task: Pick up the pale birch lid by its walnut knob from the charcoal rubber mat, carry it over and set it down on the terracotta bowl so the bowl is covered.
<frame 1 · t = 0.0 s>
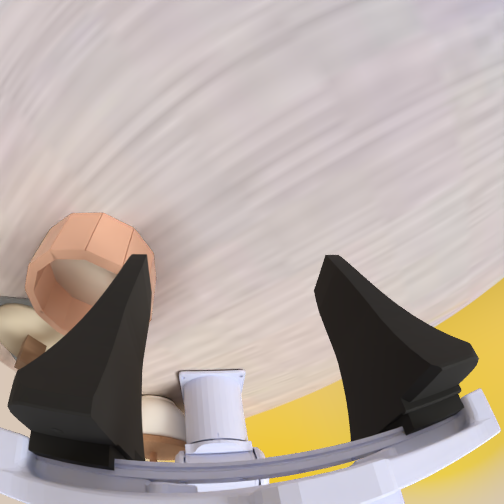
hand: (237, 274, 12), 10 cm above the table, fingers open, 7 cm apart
lidded jar: (154, 402, 39), on the table, touching arm
bowl: (97, 265, 23), on the table
lid: (36, 339, 27), resting on mat
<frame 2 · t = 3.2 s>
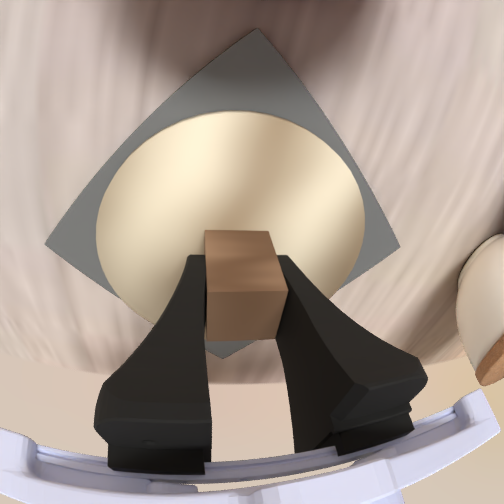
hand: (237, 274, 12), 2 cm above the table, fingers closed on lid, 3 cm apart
lidded jar: (484, 263, 19), on the table, touching arm
mat: (232, 241, 14), on the table
lid: (232, 244, 14), resting on mat, touching gripper
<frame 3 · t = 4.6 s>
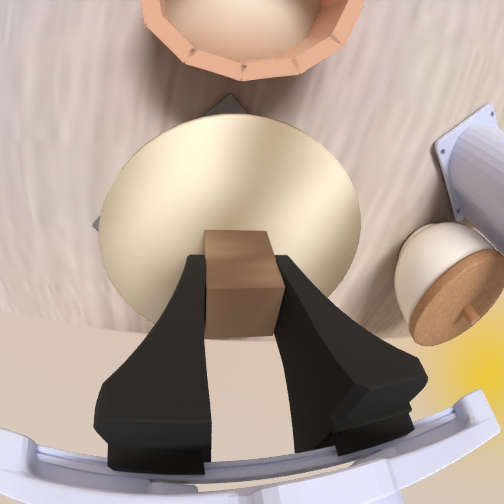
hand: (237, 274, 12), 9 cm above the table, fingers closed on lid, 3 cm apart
lidded jar: (422, 247, 26), on the table, touching arm
mat: (217, 224, 22), on the table
lid: (231, 244, 14), point 7 cm above the table, touching gripper
when the fingers open (8 cm above the table, at t = 6.3 s): lid stays where it is, resting on bowl.
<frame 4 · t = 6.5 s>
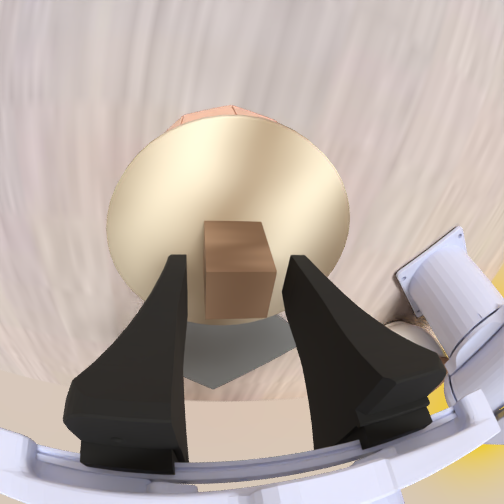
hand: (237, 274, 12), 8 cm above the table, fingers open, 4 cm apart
lidded jar: (385, 336, 32), on the table, touching arm
mat: (214, 342, 28), on the table
bowl: (223, 187, 18), on the table
lid: (229, 235, 15), point 4 cm above the table, touching bowl
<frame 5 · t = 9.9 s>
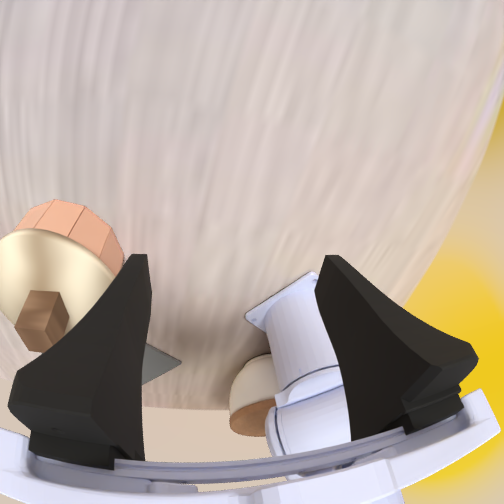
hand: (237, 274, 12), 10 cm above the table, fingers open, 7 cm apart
lidded jar: (267, 365, 36), on the table, touching arm
mat: (106, 358, 31), on the table
bowl: (68, 254, 22), on the table
lid: (53, 296, 19), point 4 cm above the table, touching bowl
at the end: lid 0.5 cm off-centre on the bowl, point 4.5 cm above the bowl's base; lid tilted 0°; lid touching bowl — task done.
